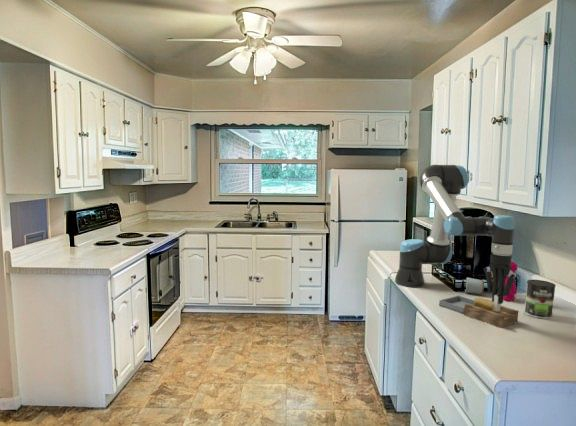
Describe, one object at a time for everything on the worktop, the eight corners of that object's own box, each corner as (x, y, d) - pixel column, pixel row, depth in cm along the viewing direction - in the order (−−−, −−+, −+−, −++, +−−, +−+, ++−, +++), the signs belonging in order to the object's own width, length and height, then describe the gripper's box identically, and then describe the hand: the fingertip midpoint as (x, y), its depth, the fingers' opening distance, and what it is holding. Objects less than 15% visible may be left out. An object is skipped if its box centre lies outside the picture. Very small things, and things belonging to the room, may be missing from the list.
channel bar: (464, 315, 171) (464, 304, 170) (480, 310, 177) (481, 299, 177) (501, 328, 158) (502, 316, 157) (517, 322, 164) (518, 310, 164)
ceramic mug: (483, 296, 197) (484, 281, 196) (465, 294, 200) (466, 279, 199) (481, 291, 206) (482, 276, 206) (464, 289, 209) (465, 274, 209)
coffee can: (555, 320, 167) (558, 287, 165) (526, 316, 170) (529, 284, 169) (548, 312, 176) (551, 281, 175) (522, 309, 180) (524, 278, 178)
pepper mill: (512, 302, 188) (516, 260, 186) (496, 298, 194) (499, 258, 191) (518, 299, 193) (522, 258, 191) (502, 296, 198) (505, 256, 196)
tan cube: (473, 307, 171) (474, 298, 171) (479, 306, 174) (479, 297, 173) (482, 310, 168) (483, 301, 168) (487, 309, 170) (488, 299, 170)
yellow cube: (482, 310, 168) (483, 301, 168) (487, 309, 170) (488, 299, 170) (491, 313, 165) (492, 304, 164) (497, 311, 167) (497, 302, 166)
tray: (439, 305, 182) (439, 300, 182) (457, 300, 190) (458, 295, 190) (463, 313, 172) (463, 308, 172) (482, 308, 180) (482, 302, 180)
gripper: (480, 251, 166) (476, 307, 168) (512, 258, 155) (507, 317, 158) (490, 250, 170) (486, 304, 173) (522, 256, 159) (517, 313, 162)
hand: (496, 310), depth 165 cm, fingers closed
